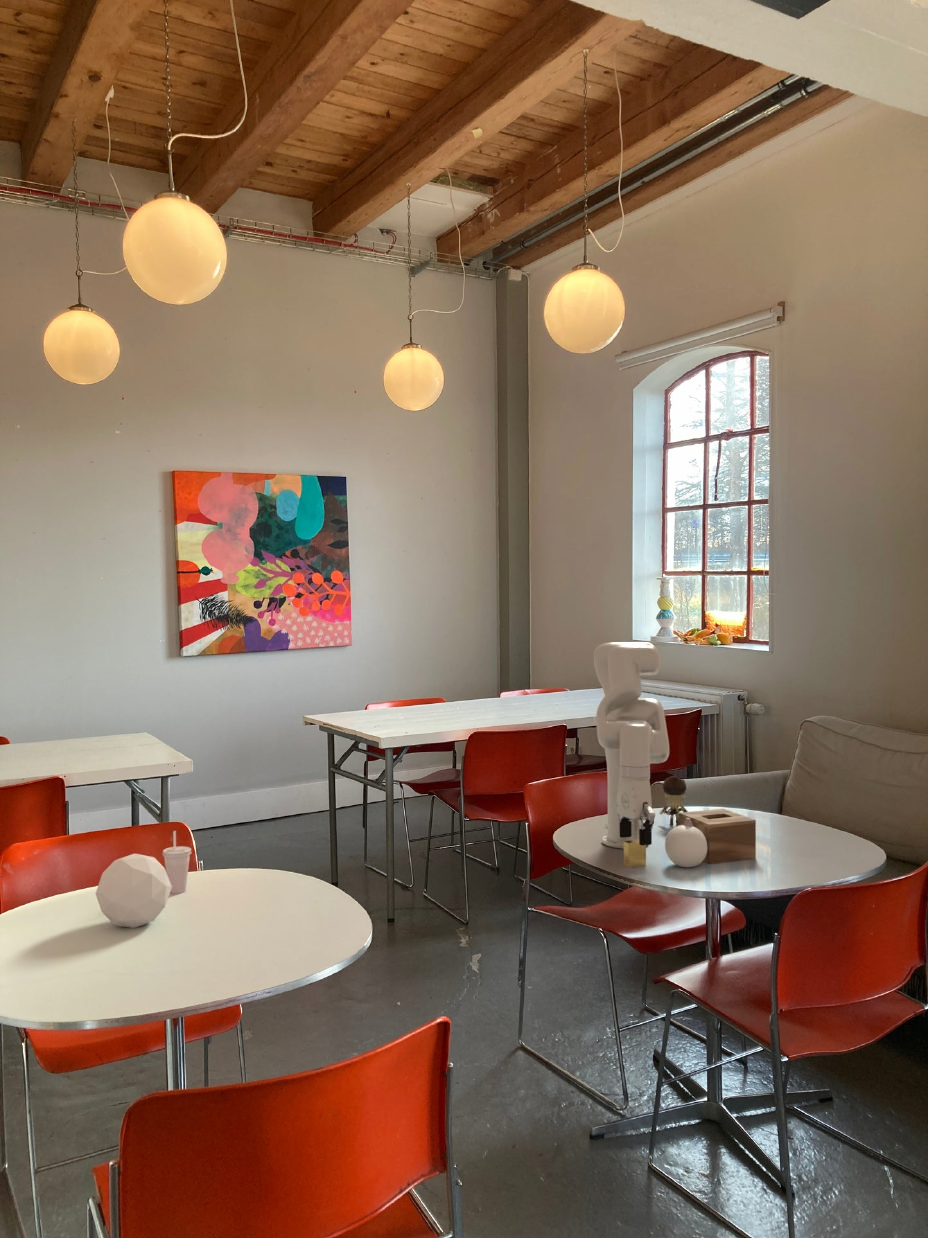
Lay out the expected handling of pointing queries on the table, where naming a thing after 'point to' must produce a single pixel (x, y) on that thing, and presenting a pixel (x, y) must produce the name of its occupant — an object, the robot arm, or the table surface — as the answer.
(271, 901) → the table surface
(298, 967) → the table surface
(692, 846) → the ornament
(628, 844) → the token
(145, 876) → the geometric shape
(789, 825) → the table surface
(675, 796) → the toy
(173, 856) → the smoothie
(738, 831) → the box
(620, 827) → the robot arm
